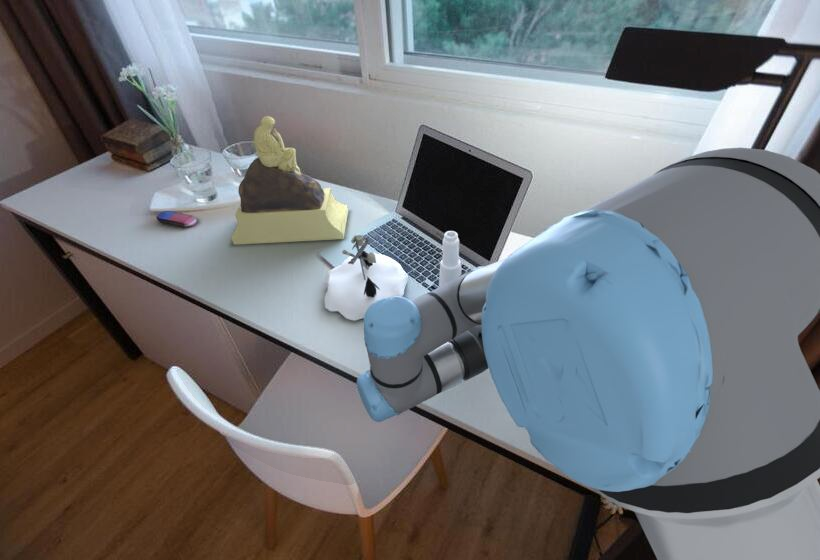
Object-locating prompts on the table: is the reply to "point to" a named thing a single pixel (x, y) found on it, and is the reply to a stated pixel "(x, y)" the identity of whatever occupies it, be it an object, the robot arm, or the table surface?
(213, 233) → the table surface
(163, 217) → the eraser
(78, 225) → the table surface
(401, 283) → the figurine
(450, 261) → the cosmetic bottle
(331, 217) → the seated figure statue
